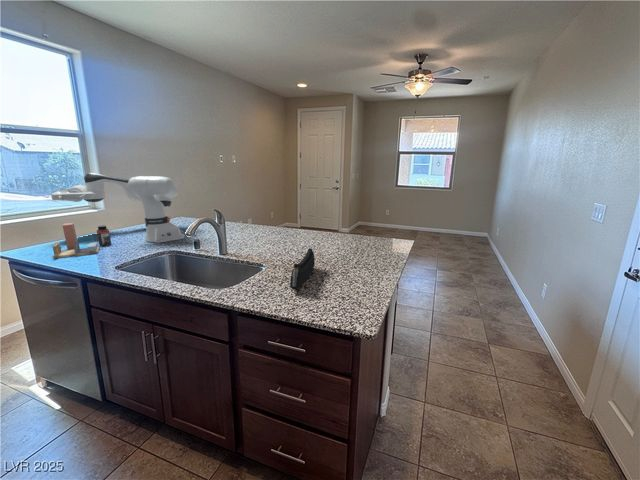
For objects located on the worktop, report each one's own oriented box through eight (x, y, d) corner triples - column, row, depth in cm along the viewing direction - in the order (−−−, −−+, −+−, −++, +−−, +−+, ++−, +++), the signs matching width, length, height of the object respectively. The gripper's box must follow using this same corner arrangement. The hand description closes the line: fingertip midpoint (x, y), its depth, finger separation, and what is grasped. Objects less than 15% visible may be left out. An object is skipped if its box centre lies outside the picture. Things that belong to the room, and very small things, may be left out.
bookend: (89, 248, 171) (87, 239, 169) (87, 252, 164) (85, 243, 163) (77, 249, 168) (75, 240, 167) (75, 253, 162) (73, 244, 160)
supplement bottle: (97, 244, 183) (94, 225, 180) (109, 242, 187) (106, 224, 184) (100, 246, 179) (97, 227, 176) (112, 244, 183) (109, 225, 180)
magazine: (309, 248, 150) (292, 247, 120) (315, 248, 149) (300, 248, 120) (306, 283, 149) (289, 291, 120) (313, 284, 149) (297, 292, 119)
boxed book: (78, 246, 178) (73, 222, 175) (76, 249, 173) (71, 224, 170) (69, 247, 176) (64, 223, 173) (67, 250, 171) (62, 225, 168)
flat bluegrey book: (98, 247, 174) (97, 242, 173) (96, 251, 167) (95, 246, 166) (90, 247, 172) (89, 243, 171) (88, 252, 165) (87, 246, 164)
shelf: (99, 248, 175) (97, 238, 173) (97, 253, 166) (95, 242, 165) (57, 253, 166) (55, 242, 164) (53, 258, 158) (50, 246, 156)
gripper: (97, 198, 198) (93, 202, 186) (56, 200, 189) (50, 204, 177) (95, 188, 196) (91, 192, 184) (54, 189, 187) (47, 193, 175)
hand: (70, 198), depth 181 cm, fingers open, 8 cm apart
